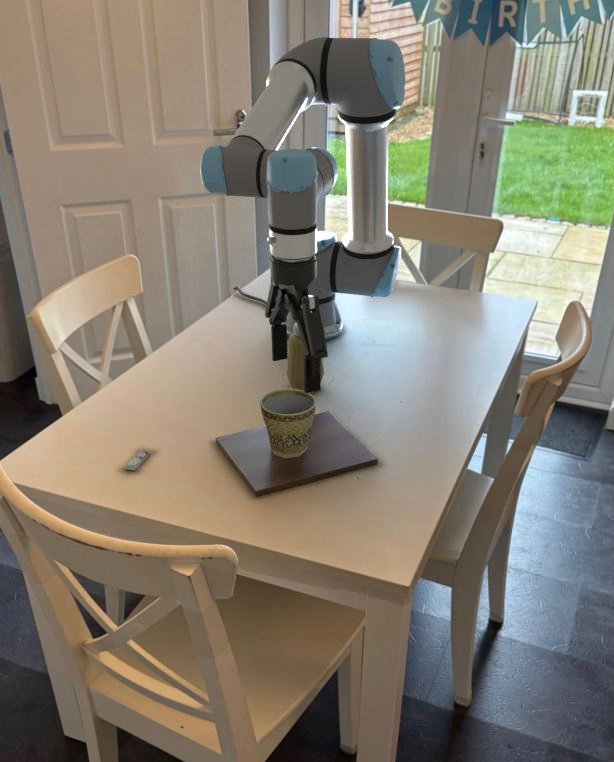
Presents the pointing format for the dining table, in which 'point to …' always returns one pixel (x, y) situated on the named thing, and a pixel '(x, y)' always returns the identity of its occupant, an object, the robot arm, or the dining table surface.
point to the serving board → (321, 460)
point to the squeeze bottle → (297, 360)
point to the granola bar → (137, 460)
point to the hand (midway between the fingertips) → (295, 374)
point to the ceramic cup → (288, 420)
